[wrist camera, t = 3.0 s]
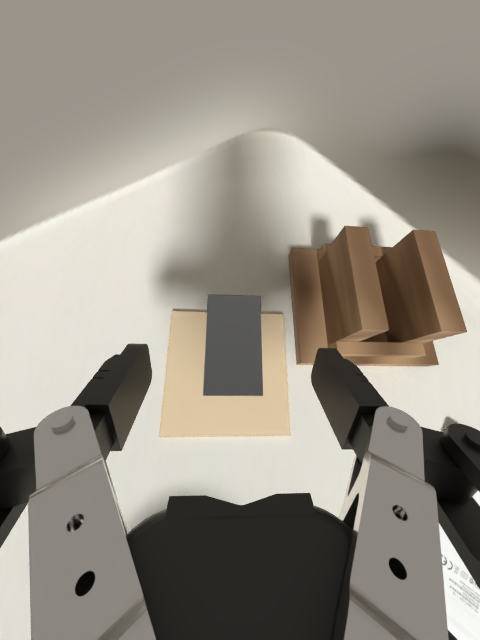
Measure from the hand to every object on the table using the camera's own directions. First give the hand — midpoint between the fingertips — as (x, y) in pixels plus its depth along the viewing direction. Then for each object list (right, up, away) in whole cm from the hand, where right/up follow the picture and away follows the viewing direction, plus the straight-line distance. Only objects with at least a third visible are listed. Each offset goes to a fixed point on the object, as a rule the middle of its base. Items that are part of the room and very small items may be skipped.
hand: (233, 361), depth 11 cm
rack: (+11, +3, +11) cm, 16 cm away
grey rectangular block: (-1, -2, +8) cm, 8 cm away
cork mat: (-1, -2, +8) cm, 9 cm away
